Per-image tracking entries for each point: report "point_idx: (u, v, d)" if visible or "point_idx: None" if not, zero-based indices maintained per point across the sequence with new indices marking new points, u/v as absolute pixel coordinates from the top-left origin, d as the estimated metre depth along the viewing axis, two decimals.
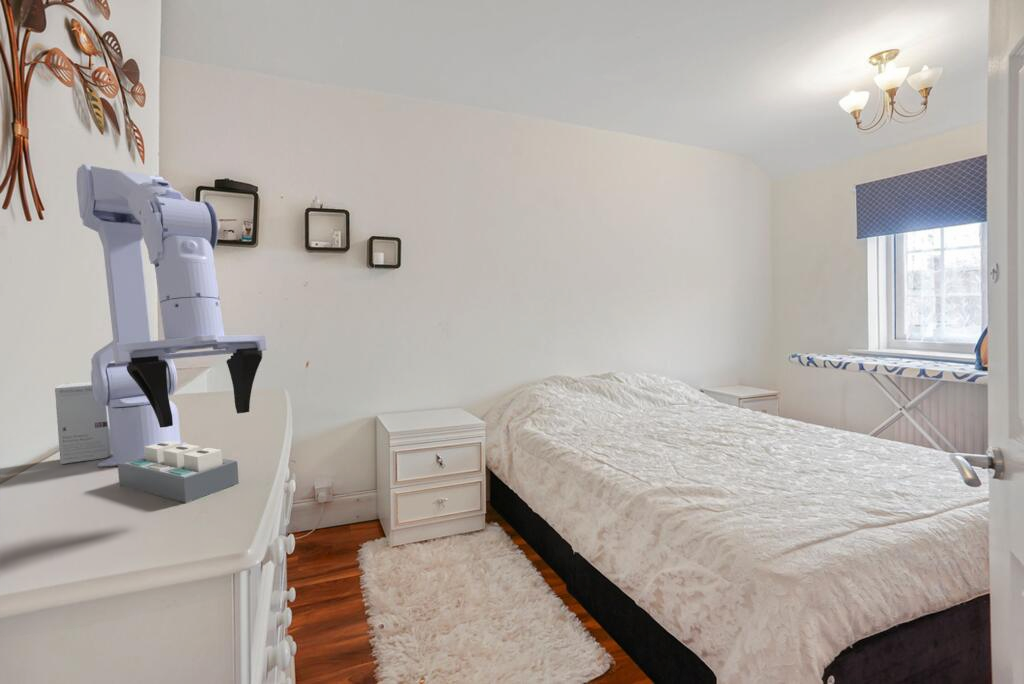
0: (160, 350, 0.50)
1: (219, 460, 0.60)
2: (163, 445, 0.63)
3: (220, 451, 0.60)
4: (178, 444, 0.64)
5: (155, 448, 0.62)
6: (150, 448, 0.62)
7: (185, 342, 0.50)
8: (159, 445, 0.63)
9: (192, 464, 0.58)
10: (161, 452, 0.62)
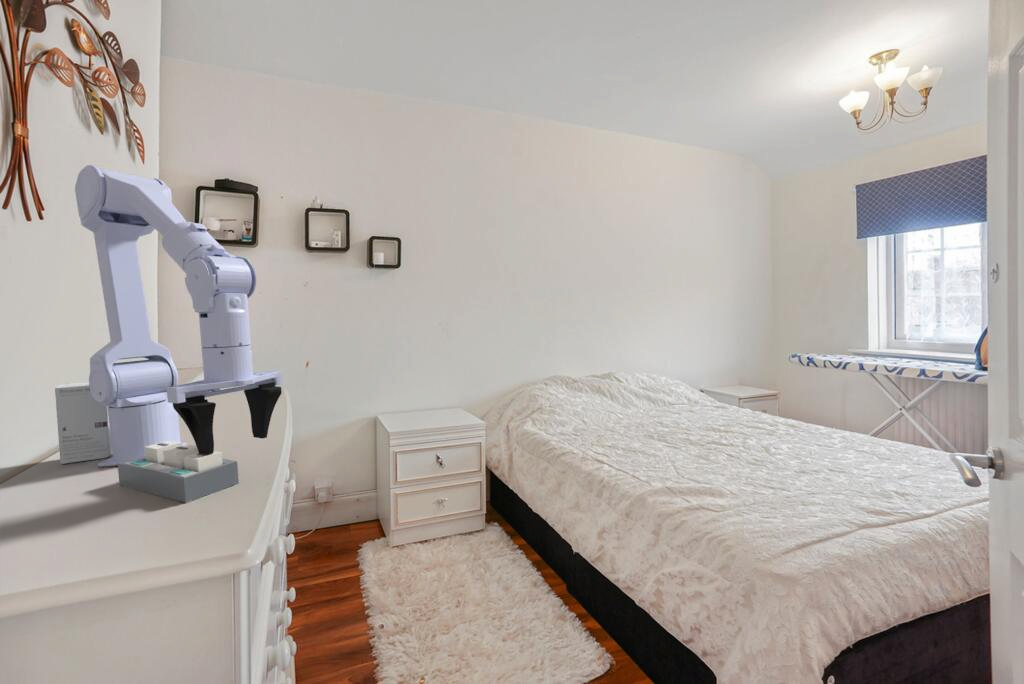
0: (204, 389, 0.60)
1: (219, 462, 0.60)
2: (163, 445, 0.63)
3: (220, 453, 0.60)
4: (178, 444, 0.64)
5: (155, 448, 0.62)
6: (150, 448, 0.62)
7: (229, 385, 0.60)
8: (159, 445, 0.63)
9: (192, 467, 0.58)
10: (161, 452, 0.62)
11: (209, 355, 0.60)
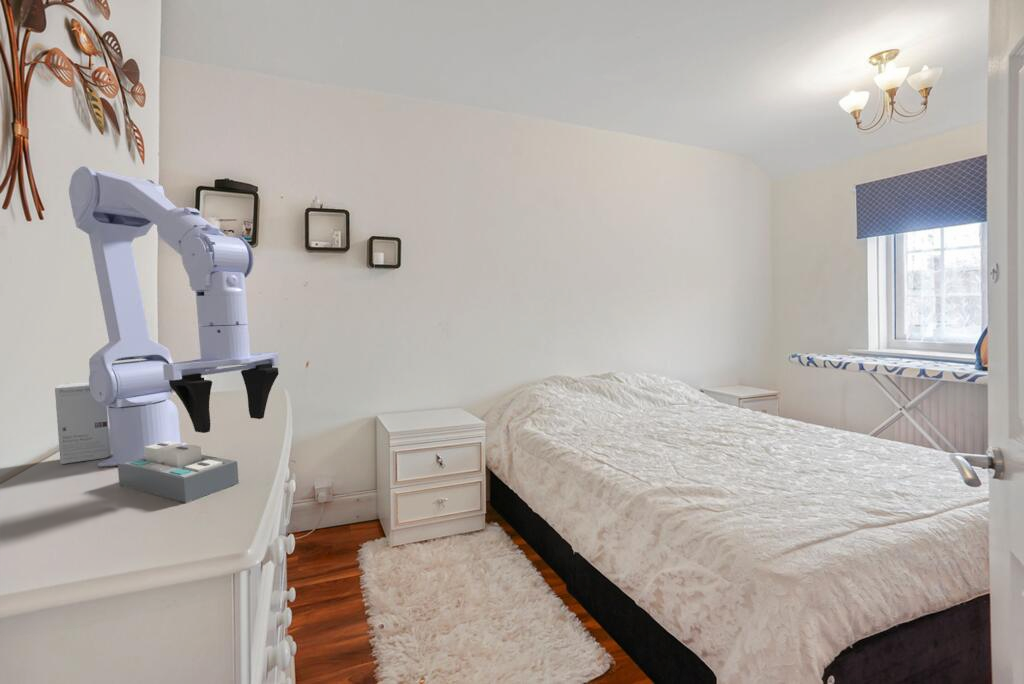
0: (201, 368, 0.60)
1: None
2: (163, 445, 0.63)
3: (221, 463, 0.60)
4: (178, 444, 0.64)
5: (155, 448, 0.62)
6: (150, 448, 0.62)
7: (225, 363, 0.60)
8: (159, 445, 0.63)
9: None
10: (161, 452, 0.62)
11: (206, 333, 0.60)
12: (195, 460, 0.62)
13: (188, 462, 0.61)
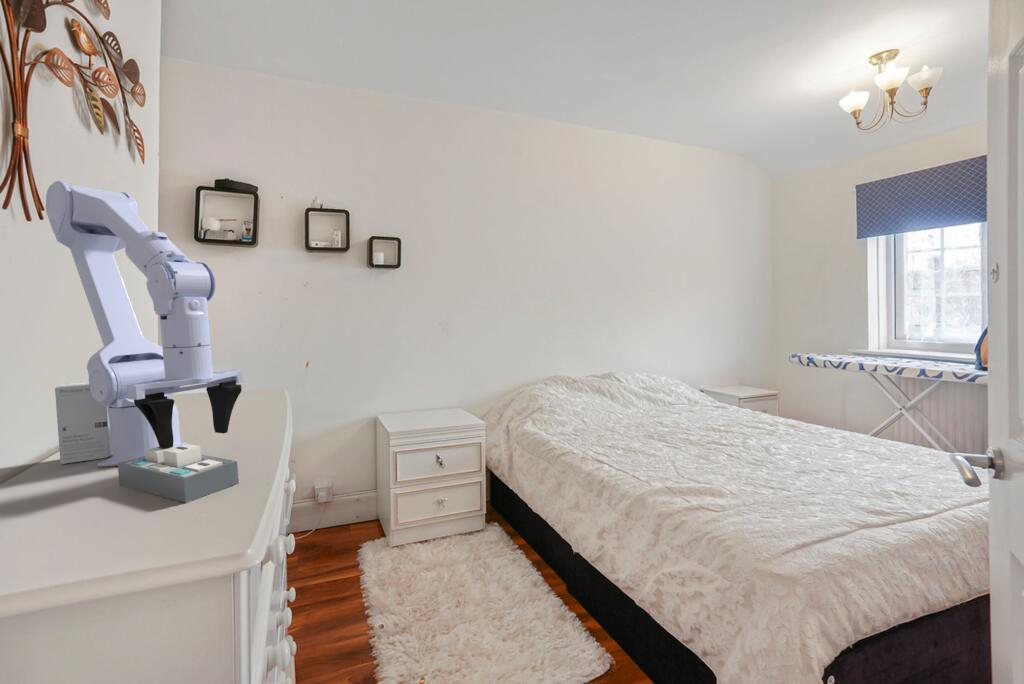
0: None
1: None
2: (163, 448, 0.63)
3: (221, 463, 0.60)
4: None
5: (155, 451, 0.62)
6: (150, 451, 0.62)
7: (188, 383, 0.64)
8: (159, 448, 0.63)
9: None
10: (161, 455, 0.62)
11: (169, 355, 0.64)
12: (195, 460, 0.62)
13: (188, 462, 0.61)
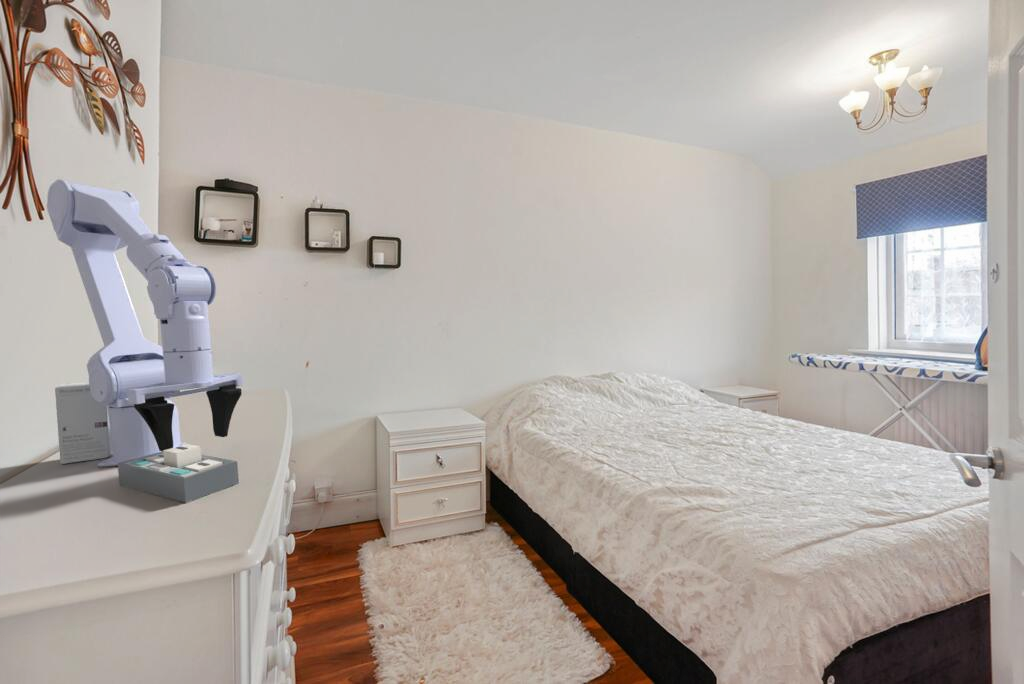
0: (164, 391, 0.64)
1: None
2: None
3: (221, 463, 0.60)
4: None
5: (156, 460, 0.62)
6: (151, 460, 0.62)
7: (188, 387, 0.64)
8: (160, 457, 0.63)
9: None
10: None
11: (169, 359, 0.64)
12: (195, 460, 0.62)
13: (188, 462, 0.61)
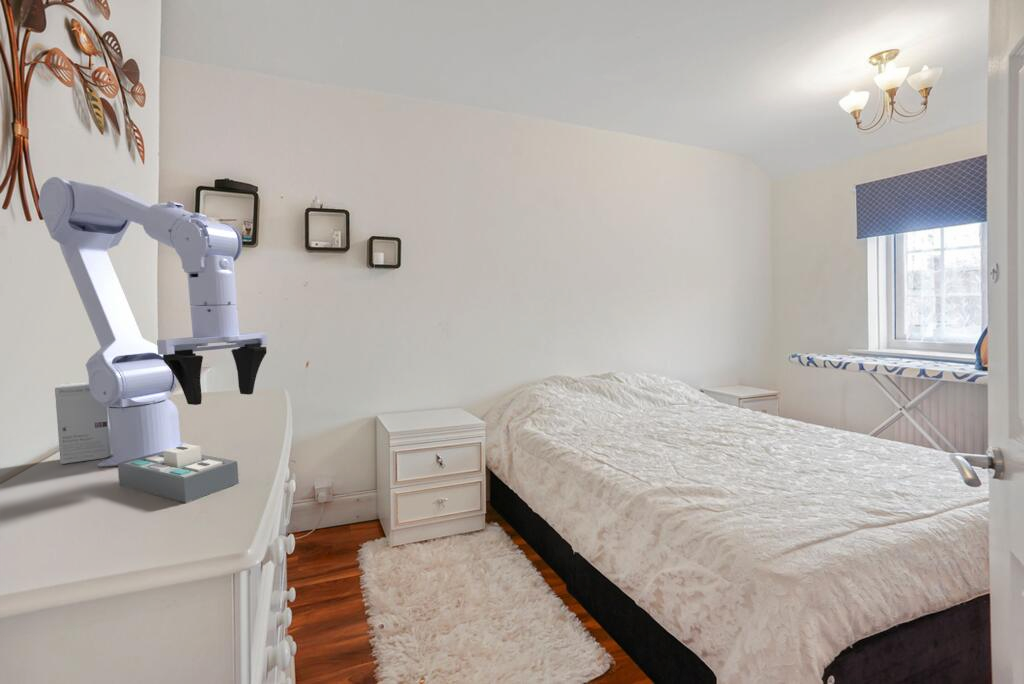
0: (192, 344, 0.64)
1: None
2: None
3: (221, 463, 0.60)
4: None
5: (156, 460, 0.62)
6: (151, 460, 0.62)
7: (215, 340, 0.64)
8: (160, 457, 0.63)
9: None
10: None
11: (197, 312, 0.64)
12: (195, 460, 0.62)
13: (188, 462, 0.61)
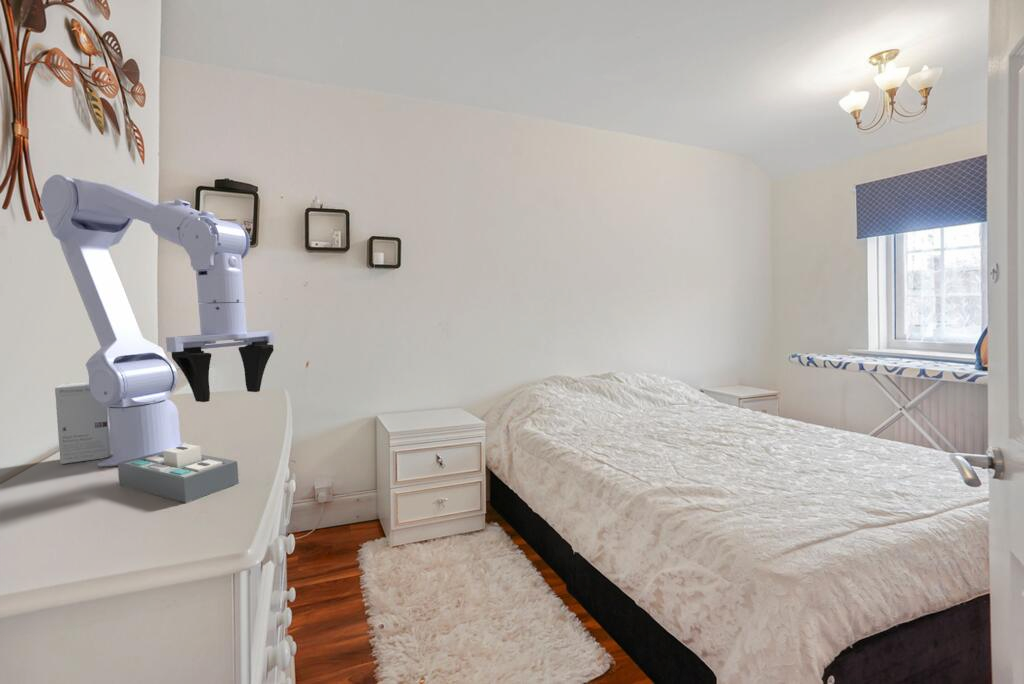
0: (201, 342, 0.64)
1: None
2: None
3: (221, 463, 0.60)
4: None
5: (156, 460, 0.62)
6: (151, 460, 0.62)
7: (224, 338, 0.65)
8: (160, 457, 0.63)
9: None
10: None
11: (205, 310, 0.64)
12: (195, 460, 0.62)
13: (188, 462, 0.61)
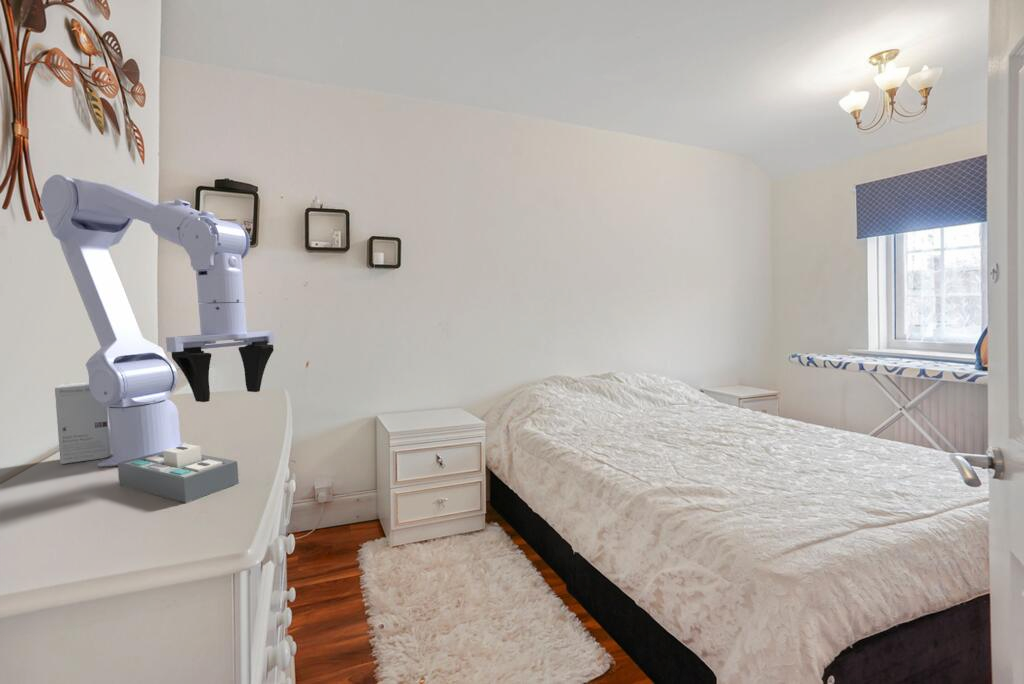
0: (201, 342, 0.64)
1: None
2: None
3: (221, 463, 0.60)
4: None
5: (156, 460, 0.62)
6: (151, 460, 0.62)
7: (224, 338, 0.65)
8: (160, 457, 0.63)
9: None
10: None
11: (205, 310, 0.64)
12: (195, 460, 0.62)
13: (188, 462, 0.61)
